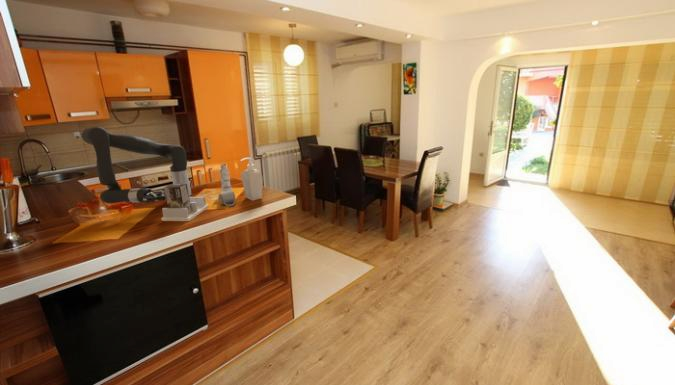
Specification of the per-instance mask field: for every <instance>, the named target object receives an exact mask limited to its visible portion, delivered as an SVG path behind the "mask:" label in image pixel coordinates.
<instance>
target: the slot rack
mask: <svg viewBox="0 0 675 385" xmlns="http://www.w3.org/2000/svg"><path fill="white" fill-rule="evenodd" d="M189 200H190V205H191V211H192V212H191V213H190V214H188V209H187V208H168V207H162V209H161V211H162V215H163V217H161V218H160V219H161V222H190V221H192V220H194V218H196V217H197V216H198V215H200V214H201V213H202V212H204V211H205V210H207V209H208V208H209V204H206V203H207V202H206V197H205V196H189Z"/></svg>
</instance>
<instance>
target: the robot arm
mask: <svg viewBox="0 0 675 385" xmlns="http://www.w3.org/2000/svg"><path fill="white" fill-rule="evenodd" d="M81 138H82V140H83V141H84V142H85V143H86V144H89V145H92V147H93V148H94V150H95V156H96V174H97V177H98V181H99V183H100V185H101V186H106V187H107V188H108V189H106V190H103V191H102V192H100V195H99V199H100V200H101V201H102V202H103V203H105V204H117V203H118V204H119V203H124V202H125V203H143V204H144V203H148V204H149V203H155V202H158V201H167V199H166V194H165V190H164V189H157V190H153V189H151V188H148V187H147V188H145V187H143V188H142V187H141V188H124V189H122V187H121V186H120V184H119V182H118V181H117V179H116V175H115V172H114V166H113V162H112V158H111V157H112V156H111V149H110V147H111V148H114V149H118V150H122V151H127V152H131V153H136V154H141V155H150V156H151V155H153V156H154V155H155V156H160V157H163V158H166V159H170V160H171V162H172V165H171V166H170V167H169V168H170V174H171V180H172V184H187V189H188V194H189V197H191V195H192V190H191V184H190V180H189V174H188V170H187V166H188V159H187V152H186V149H185V148H184V146H181V145H178V144H165V143H159V142H156V141H154V140H151V139H149V138H145V137H141V136H137V135H131V134H130V135H129V134H119V133H118V134H117V133H113V132H112V133H111V132H108V131H107V129H105V128H103V127H100V126H90V127H87V128H85V129H84V130H82V132H81Z"/></svg>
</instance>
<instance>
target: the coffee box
mask: <svg viewBox="0 0 675 385" xmlns="http://www.w3.org/2000/svg"><path fill="white" fill-rule="evenodd" d="M163 190H165V194H166V196H165V198H166V203H167V208H187V209H188V214H190V213H191V212H192V211H191V205H190V200H189V197H190V196H189V194H188V189H187V184H173V183H171V184H168V185H166V186H164V187H163Z"/></svg>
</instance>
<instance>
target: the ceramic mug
mask: <svg viewBox="0 0 675 385" xmlns="http://www.w3.org/2000/svg"><path fill="white" fill-rule="evenodd" d="M218 200H219V203H220V204H221V205H222V206H226V207H234V205H235V204H236V201H237V200H236V194H235V192H234V191H233V189H232V190H230V191H226V192H223V193H222V192H220V193H219V194H218Z"/></svg>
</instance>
